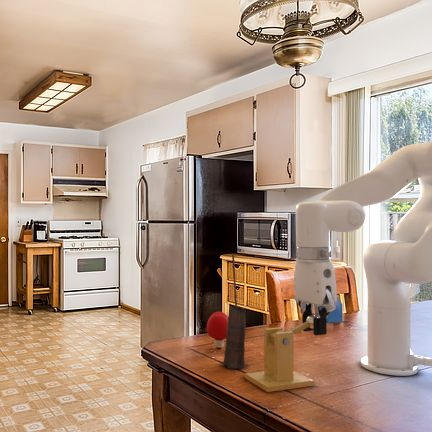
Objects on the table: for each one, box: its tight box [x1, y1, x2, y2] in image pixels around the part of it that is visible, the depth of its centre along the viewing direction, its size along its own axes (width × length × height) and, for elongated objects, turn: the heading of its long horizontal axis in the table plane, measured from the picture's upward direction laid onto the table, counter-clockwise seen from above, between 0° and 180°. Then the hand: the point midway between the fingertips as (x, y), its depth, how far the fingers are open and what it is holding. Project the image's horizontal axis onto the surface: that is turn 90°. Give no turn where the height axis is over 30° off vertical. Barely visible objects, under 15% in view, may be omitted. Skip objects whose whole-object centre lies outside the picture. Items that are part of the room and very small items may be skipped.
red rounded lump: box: [206, 311, 228, 350], centre depth 134 cm, size 9×7×10 cm
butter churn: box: [223, 254, 247, 370], centre depth 118 cm, size 9×10×28 cm
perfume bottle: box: [320, 296, 343, 324], centre depth 170 cm, size 6×6×12 cm
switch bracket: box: [244, 326, 314, 393], centre depth 107 cm, size 12×9×12 cm
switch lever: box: [270, 315, 316, 345], centre depth 109 cm, size 13×3×3 cm, turn 109°
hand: (314, 331), depth 111 cm, fingers closed on switch lever, 3 cm apart
